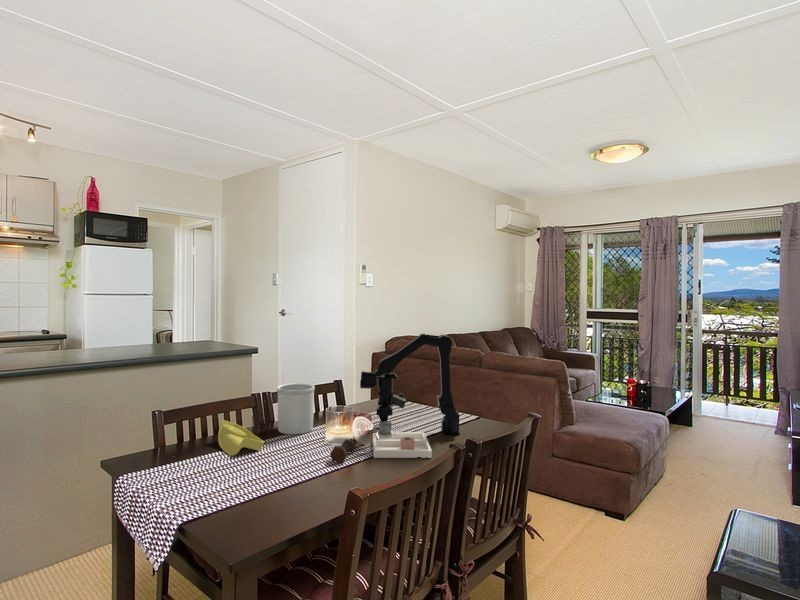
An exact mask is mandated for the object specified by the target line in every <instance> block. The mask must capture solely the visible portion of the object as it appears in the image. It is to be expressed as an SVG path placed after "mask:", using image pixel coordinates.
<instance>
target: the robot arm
mask: <svg viewBox="0 0 800 600" xmlns="http://www.w3.org/2000/svg"><path fill="white" fill-rule="evenodd" d="M424 345H427V346H432V347H436V348H437V352H438V355H439V370H440V394H437V395H436V398H437V403H436V404H437V409H439V411H440V412H441V414H442V415H443V416H442V419H441V422H440V423H441V425H440V427H441V428H440V430H441V432H442V433H443V434H444V435H453V436H455V435H460V434H461V433H460V417H461V415H460V413H459V411H458V409H457V408H456V407H455V404H454V403H455V402H454V399H453V396H452V388H451V387H452V385H451V369H450V367H451V365H450V364H451V362H450V357H451V353H452V346H453V341H452V339H451V337H449V336H448V335H446V334H440V335H433V334H426V333H421V334H418V336H417V337H416V338H414V339H413V340H411V341H410V342H408V343H407V344H406V345H404V346H402V348H400V349H399V350H397V351H396V352H394V353H391V354H389V355H386V356H385V357H383V358H382V359H381V360H380V361H379V364H378V367H377V368H376V369H375V370H374V371H361V373H360V381H359V383H360V384H359V385H360V386H359V387H360V389H369V390H371V389H372V390H373V389H375V388H376V387H377V386H378V391H377V392H378V393H377V394H378V395H377V396H378V400H377V406H378V407H377V408H376V416H378V418H379V419H380V422H383V421H387V422H388V421H389V420H388V419H389V416H391V417H392V416H393V409H394V408H393V406H397V407H398V408H400V409H405V405H406V403H407V399H406V398H405V397H404V394H403V393H399V394H394V391H393V390H394V389H393V386H394V384H393V383H394V380H398V375H397V374H396V373H395V371H393V370H394V369H395V368H396V367H397V366H398V365H399V364H400V363H401V362H402V361H403V360H404V359H405V358H407V357H408V356H410V355H412V354H413V353H414V352H416V351H417V350H419V349H420V348H421V347H422V346H424ZM392 371H393V372H392ZM391 372H392V373H391ZM383 374H384V375H383Z"/></svg>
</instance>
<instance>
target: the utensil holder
mask: <svg viewBox="0 0 800 600" xmlns="http://www.w3.org/2000/svg"><path fill="white" fill-rule="evenodd" d="M315 388H316V387H315V384H312V383H307V382H306V383H305V382H292V383H291V382H290V383H284V384H281V385H278V386H277V387H276V391H277V431H278V432H279V433H281V434H285V435H302V434H306V433H310V432H311V431H313V429H314V402H315V401H314V400H315V390H316V389H315Z"/></svg>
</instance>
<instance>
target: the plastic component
mask: <svg viewBox="0 0 800 600" xmlns="http://www.w3.org/2000/svg"><path fill="white" fill-rule="evenodd" d="M217 435H218V436H217V441H218V445H219V447H220V449H222V450H223V451H224V452H225V453H226V454H227V455H228V456H231V457H234V456H237V454H238V453H239V452H240V450H242V449H243V448H247V449H250V450H254V451H258V452H259V451H261V450H262V448H263V445H264V443H265V441H263V439H261V438H260V437H258V436H257V435H255V434H254V433H253V432H251V431H250V430H248V429H247V428H246V427H244V426H242V425H240V424H237V423H234V422H230V421H229V420H222V421H221V422H220V424H219V428H218V434H217Z"/></svg>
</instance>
